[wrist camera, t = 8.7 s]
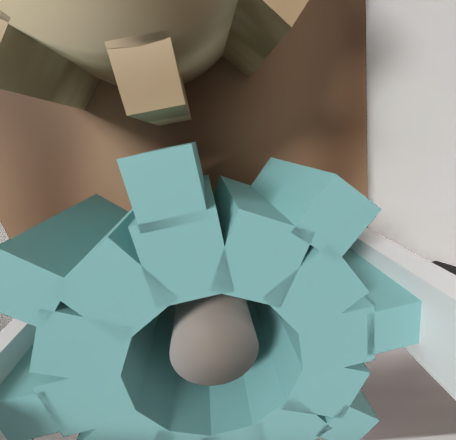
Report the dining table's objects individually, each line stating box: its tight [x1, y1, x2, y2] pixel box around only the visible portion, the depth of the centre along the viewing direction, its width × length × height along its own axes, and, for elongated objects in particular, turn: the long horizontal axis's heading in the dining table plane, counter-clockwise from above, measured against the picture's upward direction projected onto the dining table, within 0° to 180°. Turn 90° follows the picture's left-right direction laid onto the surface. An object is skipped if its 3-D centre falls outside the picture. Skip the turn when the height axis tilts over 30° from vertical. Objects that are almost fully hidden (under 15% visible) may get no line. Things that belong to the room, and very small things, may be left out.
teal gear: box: [0, 142, 422, 440], centre depth 9 cm, size 11×11×5 cm
